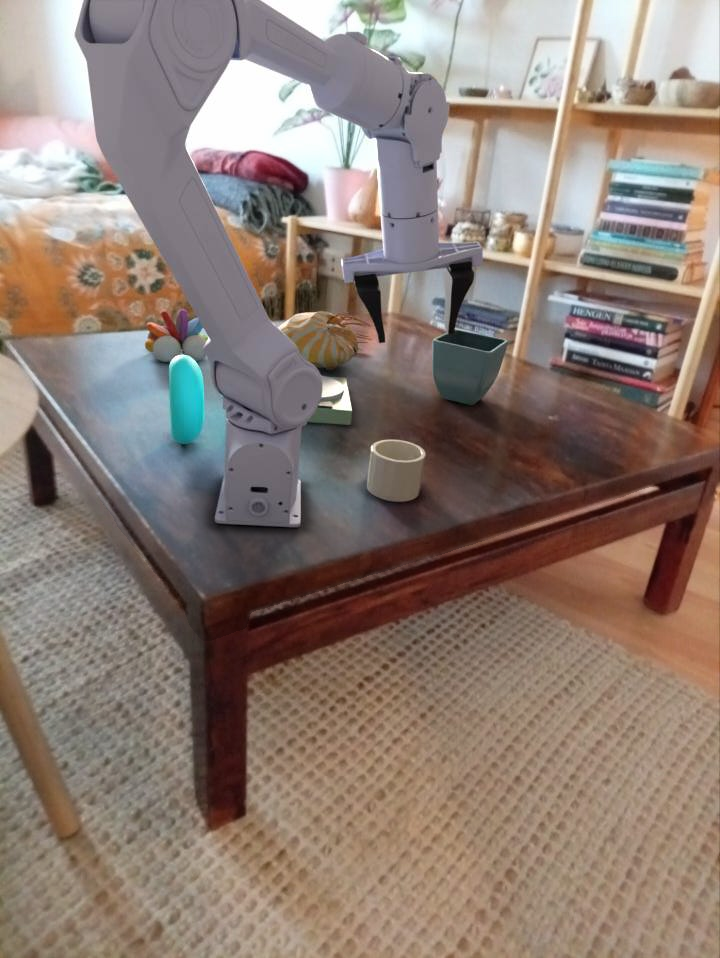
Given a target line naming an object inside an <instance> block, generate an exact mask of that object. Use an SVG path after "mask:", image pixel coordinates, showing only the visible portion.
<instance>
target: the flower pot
mask: <svg viewBox="0 0 720 958" xmlns="http://www.w3.org/2000/svg"><path fill="white" fill-rule="evenodd" d="M508 344H509V340H508V339H504V338H500V337H496V336H491V335H485V334H482V333H481V334H480V333H476V332H471V331H466V330H461V329H456V328H455V332H454V334H448V333H447V332H445V333H443V334H441V335H439V336H437V337H435V338H433V340H432V359H431V360H432V361H431V362H432V365H431V366H432V368H431V369H432V377H433V383H434V385H435V388H436V390H437V392H438V394H439V396H440V398H441V399H444V400H448V401H452V402H457V403H460V404H464V405H468V406H474V405H475V404H476V403H478V402H479V401H480V400H481V399H482V398H484V397H485V395H487V393H488V392H489V391H490V389H491V388H492V386H493V385H494V384H495V382H496V379H497V378H498V375H499V373H500V370H501V367H502V365H503V361H504V357H505V356H506V355H505V354H506V351H507V349H508Z"/></svg>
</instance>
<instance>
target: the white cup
mask: <svg viewBox="0 0 720 958" xmlns="http://www.w3.org/2000/svg"><path fill="white" fill-rule="evenodd" d="M426 457H427V454H426V451H425V450H424V449H423V448H422V447H421V446H420V445H418V444H415V443H413V442H411V441H406V440H402V439H382V440H378V441H375V442H374V443H373V444H372V445H371V446H370V453H369V462H368V463H369V464H368V471H367V478H366V489H367V490H368V492H369V493H370V494H371V495H373V496H374V497H376V498H378V499H381V500H384V501H387V502H388V501H389V502H396V503H397V502H399V503H400V502H403V503H404V502H408V501H412V500H414V499H416V498H417V497H419V494H420V491H421V488H422V481H423V476H424V469H425V463H426Z"/></svg>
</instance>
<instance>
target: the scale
mask: <svg viewBox="0 0 720 958" xmlns="http://www.w3.org/2000/svg"><path fill="white" fill-rule="evenodd" d="M321 378H322V385H323V387H322V396H321V400H320V403H319V405H318V407H317V409H316V411H315V412H314V414H313V415H312V416H311V417H310V419H309V420H307V423H317V424H331V425H333V424H334V425H346V426H351V423H352V417H353V415H352V413H353V409H352V403H351V397H350V393H349V387H348V380H347V377H336V376H325V375H321Z"/></svg>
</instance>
